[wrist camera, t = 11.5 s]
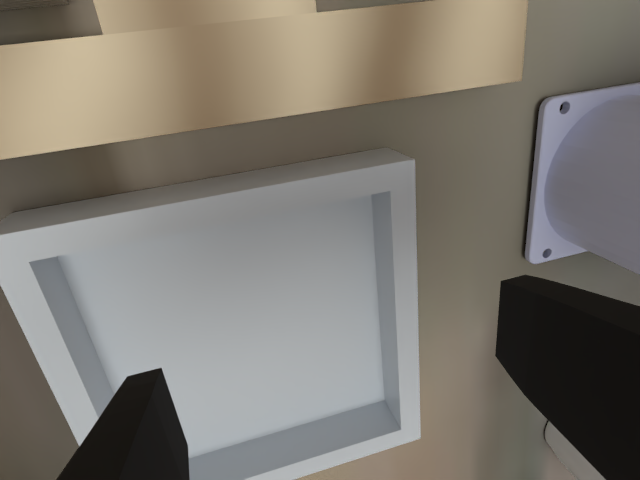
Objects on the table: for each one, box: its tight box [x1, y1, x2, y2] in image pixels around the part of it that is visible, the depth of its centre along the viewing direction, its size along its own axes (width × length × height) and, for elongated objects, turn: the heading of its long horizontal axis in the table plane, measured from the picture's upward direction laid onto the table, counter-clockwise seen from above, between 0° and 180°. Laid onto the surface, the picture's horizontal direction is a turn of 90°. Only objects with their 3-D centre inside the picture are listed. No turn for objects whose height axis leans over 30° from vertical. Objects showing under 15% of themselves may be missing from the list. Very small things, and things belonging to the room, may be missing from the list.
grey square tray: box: [0, 147, 421, 480], centre depth 18 cm, size 14×14×2 cm
